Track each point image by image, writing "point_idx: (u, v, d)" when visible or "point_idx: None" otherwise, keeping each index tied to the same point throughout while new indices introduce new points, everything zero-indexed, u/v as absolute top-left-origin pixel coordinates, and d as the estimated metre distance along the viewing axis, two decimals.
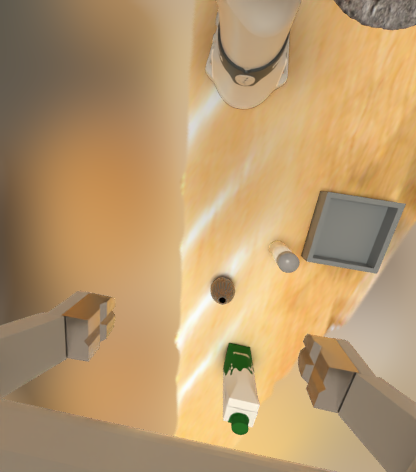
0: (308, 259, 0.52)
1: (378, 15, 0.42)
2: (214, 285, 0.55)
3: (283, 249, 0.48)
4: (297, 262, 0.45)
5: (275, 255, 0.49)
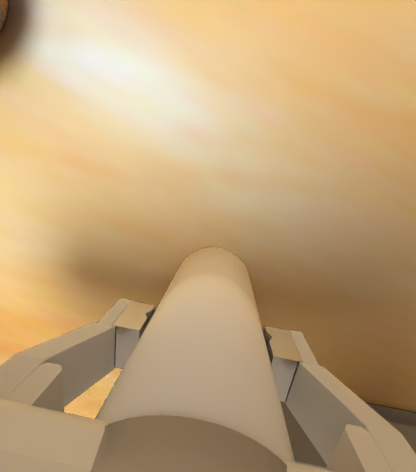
0: None
1: None
2: None
3: None
4: None
5: (214, 343, 0.05)
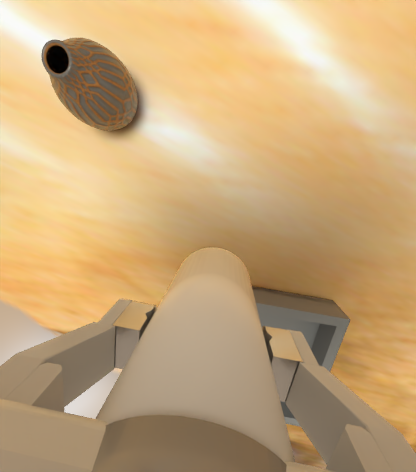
0: None
1: None
2: (108, 51, 0.18)
3: (285, 425, 0.05)
4: None
5: (214, 343, 0.05)
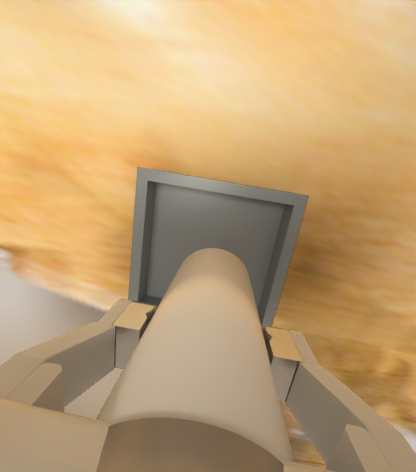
0: (142, 170, 0.21)
1: None
2: None
3: (285, 426, 0.05)
4: None
5: (214, 345, 0.05)
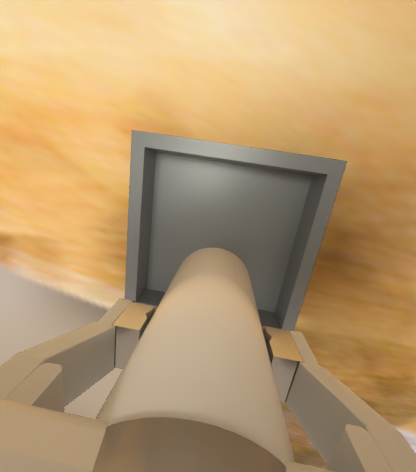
0: (138, 134, 0.17)
1: None
2: None
3: (286, 427, 0.05)
4: None
5: (214, 344, 0.05)
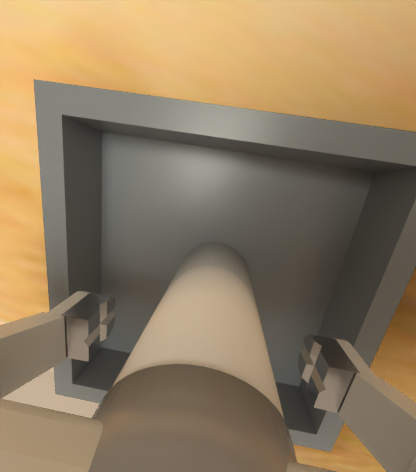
0: (47, 89, 0.09)
1: None
2: None
3: (275, 385, 0.06)
4: None
5: (215, 317, 0.06)
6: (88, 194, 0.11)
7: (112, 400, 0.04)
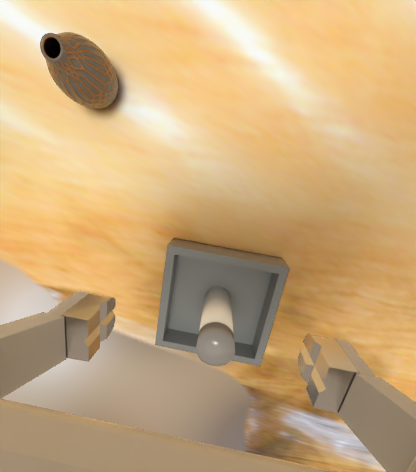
0: (171, 247, 0.29)
1: None
2: (92, 43, 0.23)
3: (232, 329, 0.26)
4: (218, 362, 0.24)
5: (220, 314, 0.27)
6: (174, 271, 0.32)
7: (204, 327, 0.25)
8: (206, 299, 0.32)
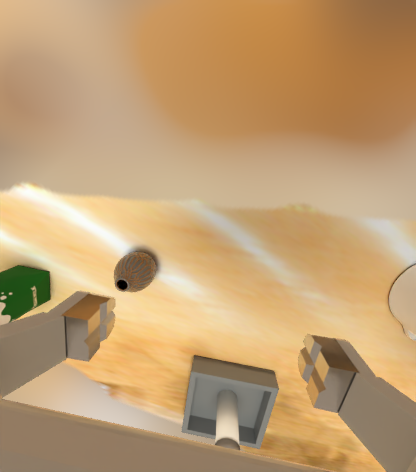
0: (193, 373, 0.41)
1: None
2: (143, 263, 0.35)
3: (238, 438, 0.38)
4: None
5: (230, 428, 0.38)
6: None
7: (219, 442, 0.36)
8: (219, 404, 0.43)
